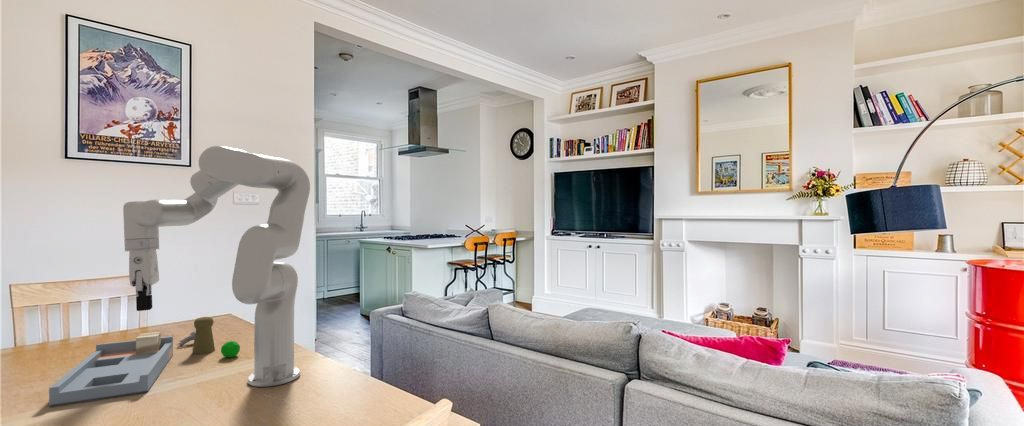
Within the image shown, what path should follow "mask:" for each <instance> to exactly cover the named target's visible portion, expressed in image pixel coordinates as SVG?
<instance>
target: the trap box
mask: <svg viewBox="0 0 1024 426" xmlns="http://www.w3.org/2000/svg"><path fill="white" fill-rule="evenodd" d="M172 357H174V336H173V335H172V336H161V349H160V350H159V351H158V352H157V353H149V354H140V355H136V339H135V340H134V339H133V340H124V341H116V342H115V341H113V342H105V343H97V344H96V345H95V350H94V351H93V352H92V353H91V354H89V355H88V356H87V357H85V358H84V359H83V360H82V361H81V362H79V363H78V364H77V365H76V366H75V367H73V368H72V369H71V370H69V372H67V373H66V374H65V375H63V376H62V377H61V378H60V379H58V380H57V381H56V382H55V383H53V385H51V386H50V387H49V390H48V391H49V392H48V393H49V394H48V396H49V398H48V402H49V403H48V404H49V405H48V407H49V408H54V407H61V406H66V405H67V406H68V405H73V404H74V405H75V404H80V403H87V402H94V401H101V400H107V399H113V398H120V397H127V396H133V395H140V394H146V393H149V392H150V391H151V388H152V387H153V385H154V384H155V383H156V381H157V380H158V378H159V377H160V375H161V374H162V372H163V371H164V370H165V368H166V366H167V365H168V364H169V362H170V360H171V359H172Z"/></svg>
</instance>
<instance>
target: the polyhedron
mask: <svg viewBox="0 0 1024 426" xmlns="http://www.w3.org/2000/svg"><path fill="white" fill-rule="evenodd" d="M240 351H241V346H240V345H239V343H238V342H237V341H234V340H230V341H226V342H224V343H223V345H222V346H221V348H220V353H221V355H222V356H223V357H225V358H226V359H227V358H228V359H231V358H234V357H236V356H237V355H238V354H239V353H240Z"/></svg>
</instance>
